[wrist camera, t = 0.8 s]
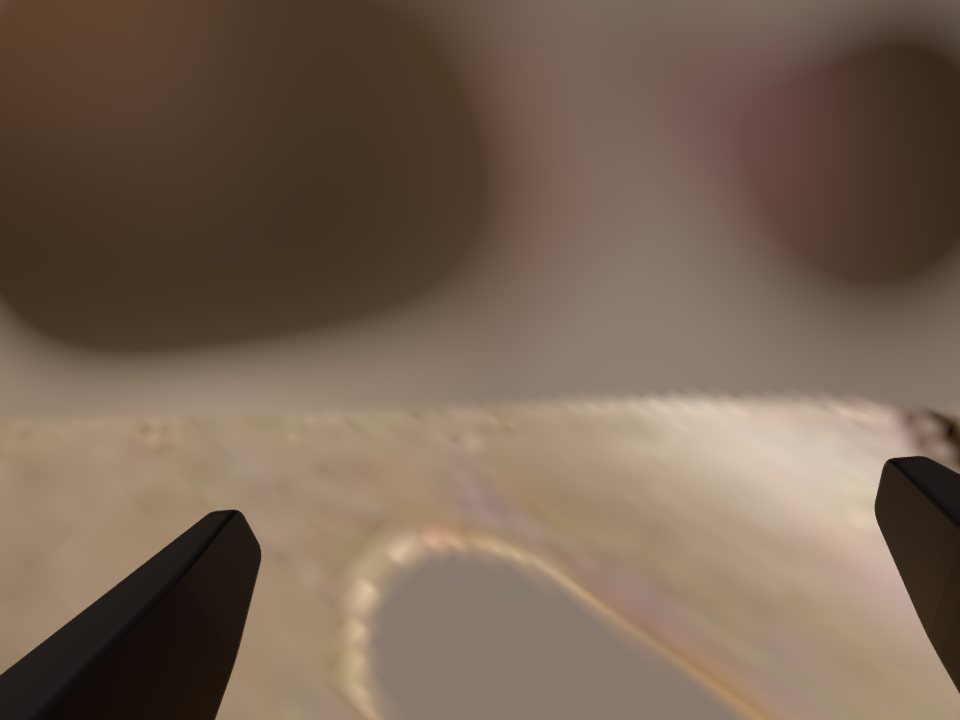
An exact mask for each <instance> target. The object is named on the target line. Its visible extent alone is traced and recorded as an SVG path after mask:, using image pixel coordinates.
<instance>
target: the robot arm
mask: <svg viewBox="0 0 960 720" xmlns="http://www.w3.org/2000/svg"><path fill="white" fill-rule="evenodd" d="M875 516H876V519H877V522H878V525H879V527H880V530H881V532H882V534H883V536H884V539H885V541H886V543H887V546H888V548H889V550H890V553H891V555H892V557H893V559H894V562H895V564H896V566H897V569H898V571H899V573H900V576H901V578H902V580H903V582H904V585H905V587H906V589H907V592H908V594H909V596H910V598H911V601H912V603H913V605H914V608H915V610H916V612H917V615H918V617H919V619H920V621H921V623H922V625H923V628H924V630H925V632H926V634H927V636H928V638H929V640H930V642H931V643H932V645H933V647H934V649H935V651H936V653H937V655H938V656H939V658H940V660H941V662H942V664H943V665H944V667H945V669H946V671H947V672H948V674H949V676H950V678H951V679H952V681H953V683H954V685H955V686H956V688H957V690H958V692H959V693H960V474H958V473H956V472H954V471H953V470H951V469H949V468H947V467H945V466H943V465H941V464H939V463H937V462H936V461H934V460H932V459H929V458H927V457H924V456H913V457H900V458H892V459H889V460H888V461H886V463H885V464H884V467H883V470H882V474H881V479H880V483H879V487H878V492H877V496H876V501H875ZM260 562H261V549H260V545H259V543H258V541H257V539H256V537H255V535H254V534H253V532H252V530H251V528H250V526H249V524H248V522H247V521H246V519H245V517H244V515H243V514H242V513H241V512H240V511H238V510H222V511H214V512H211V513H209V514H208V515H206V516H205V517H204V518H202V519H201V520H200V521H198V522H197V523H196V524H195V525H193V526H192V527H191V528H189V529H188V530H187V531H186V532H184V533H183V534H182V535H180V536H179V537H178V538H177V539H175V540H174V541H173V542H171V543H170V544H169V545H168V546H166V547H165V548H164V549H162V550H161V551H160V552H159V553H157V554H156V555H155V556H153V557H152V558H151V559H150V560H148V561H147V562H146V563H144V564H143V565H142V566H140V567H139V568H138V569H137V570H135V571H134V572H133V573H131V574H130V575H129V576H128V577H126V578H125V579H124V580H122V581H121V582H120V583H119V584H117V585H116V586H115V587H113V588H112V589H111V590H110V591H108V592H107V593H106V594H104V595H103V596H102V597H101V598H99V599H98V600H97V601H95V602H94V603H93V604H92V605H90V606H89V607H88V608H86V609H85V610H84V611H82V612H81V613H80V614H79V615H77V616H76V617H75V618H73V619H72V620H71V621H70V622H68V623H67V624H66V625H64V626H63V627H62V628H61V629H59V630H58V631H57V632H55V633H54V634H53V635H52V636H50V637H49V638H48V639H46V640H45V641H44V642H43V643H41V644H40V645H39V646H37V647H36V648H35V649H34V650H32V651H31V652H30V653H28V654H27V655H26V656H25V657H23V658H22V659H21V660H19V661H18V662H17V663H15V664H14V665H13V666H12V667H10V668H9V669H8V670H6V671H5V672H4V673H3V674H1V675H0V720H215V718H216V715H217V713H218V710H219V707H220V704H221V701H222V698H223V696H224V693H225V690H226V687H227V684H228V682H229V679H230V676H231V673H232V670H233V667H234V664H235V661H236V657H237V654H238V650H239V647H240V643H241V639H242V635H243V631H244V627H245V623H246V619H247V615H248V611H249V607H250V603H251V599H252V595H253V591H254V587H255V583H256V579H257V575H258V571H259V567H260Z"/></svg>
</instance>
